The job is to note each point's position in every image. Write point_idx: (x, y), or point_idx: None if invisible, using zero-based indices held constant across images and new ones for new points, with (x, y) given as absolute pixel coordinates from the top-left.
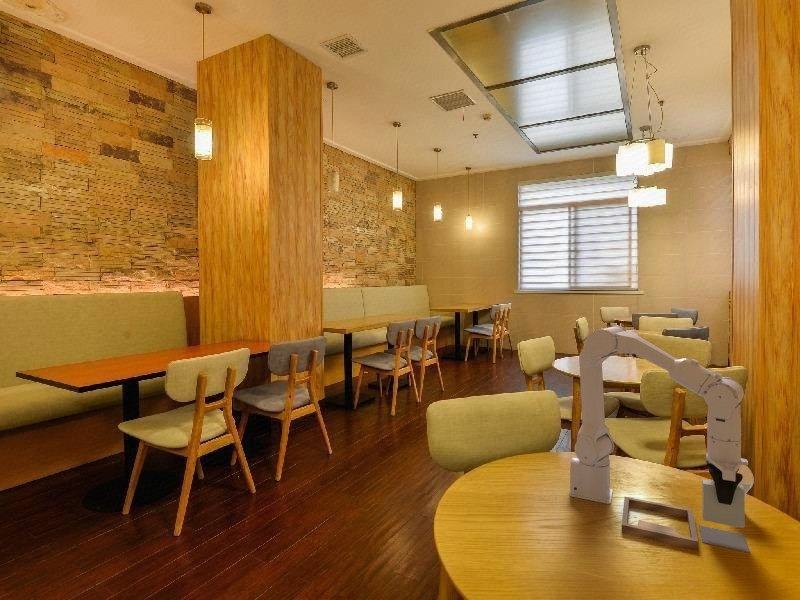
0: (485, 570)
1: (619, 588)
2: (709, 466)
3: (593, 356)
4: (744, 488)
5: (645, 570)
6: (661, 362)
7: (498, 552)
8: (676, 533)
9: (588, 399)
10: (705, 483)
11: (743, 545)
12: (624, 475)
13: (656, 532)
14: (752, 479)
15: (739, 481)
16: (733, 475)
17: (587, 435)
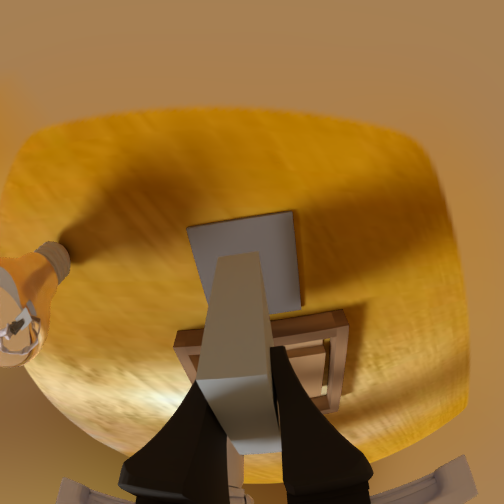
0: (442, 418)
1: (462, 354)
2: (227, 501)
3: None
4: (28, 278)
5: (428, 350)
6: None
7: (416, 428)
8: (287, 349)
9: None
10: (277, 449)
11: (259, 228)
12: (102, 407)
13: (342, 379)
14: None
15: (357, 449)
16: (468, 480)
17: None
